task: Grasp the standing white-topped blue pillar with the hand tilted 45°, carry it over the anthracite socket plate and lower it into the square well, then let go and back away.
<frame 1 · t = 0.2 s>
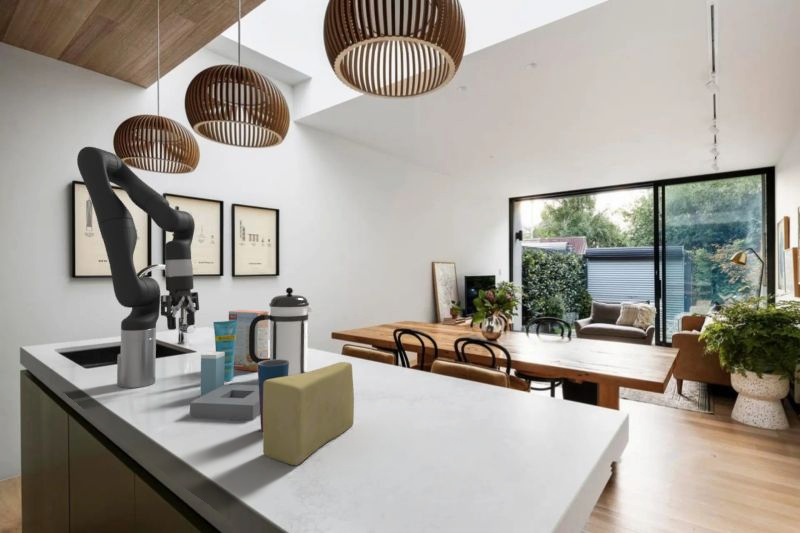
hand: (181, 327, 128), 18 cm above the worktop, tool pointing down, fingers open, 8 cm apart
cup: (272, 430, 93), on the worktop
cracker box: (247, 369, 150), on the worktop
tube: (225, 380, 134), on the worktop
cheese: (318, 442, 87), on the worktop
white-topped blue pillar: (212, 395, 118), on the worktop
socket: (237, 407, 108), on the worktop
coffee press: (284, 378, 138), on the worktop
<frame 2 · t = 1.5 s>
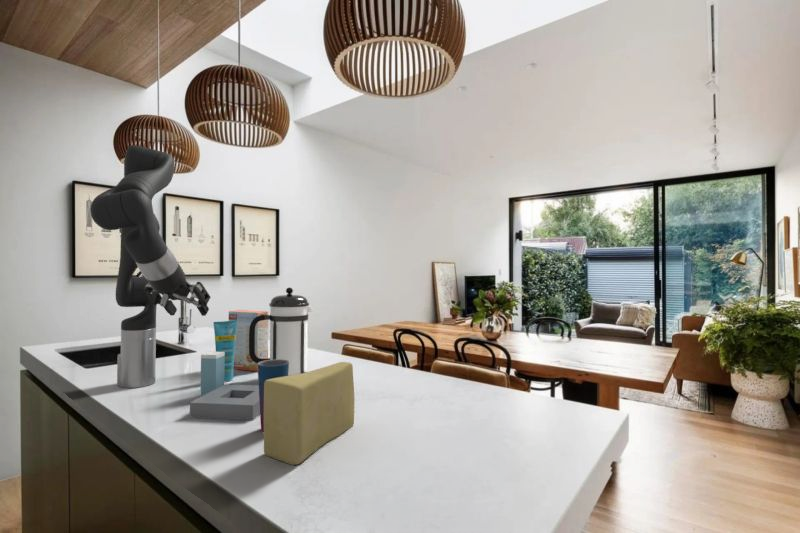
hand: (189, 313, 107), 25 cm above the worktop, tool tilted 45°, fingers open, 8 cm apart
nothing on the worktop moved.
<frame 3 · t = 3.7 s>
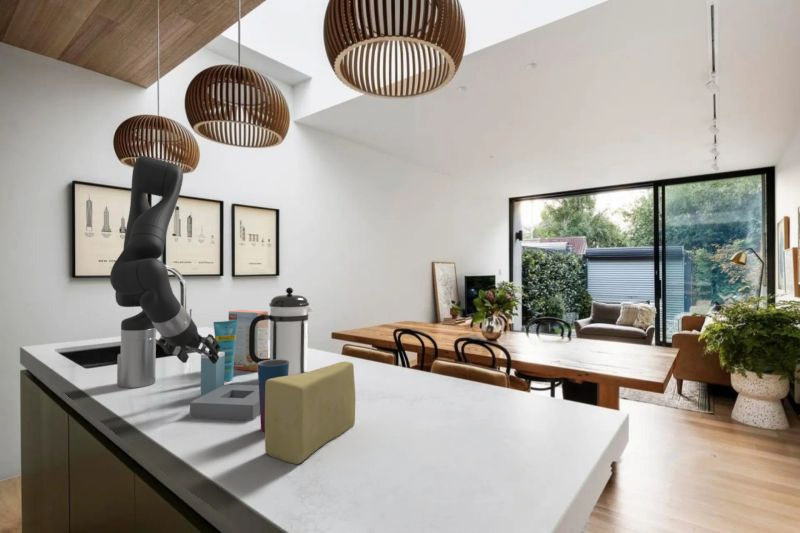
hand: (200, 360, 112), 11 cm above the worktop, tool tilted 45°, fingers open, 8 cm apart
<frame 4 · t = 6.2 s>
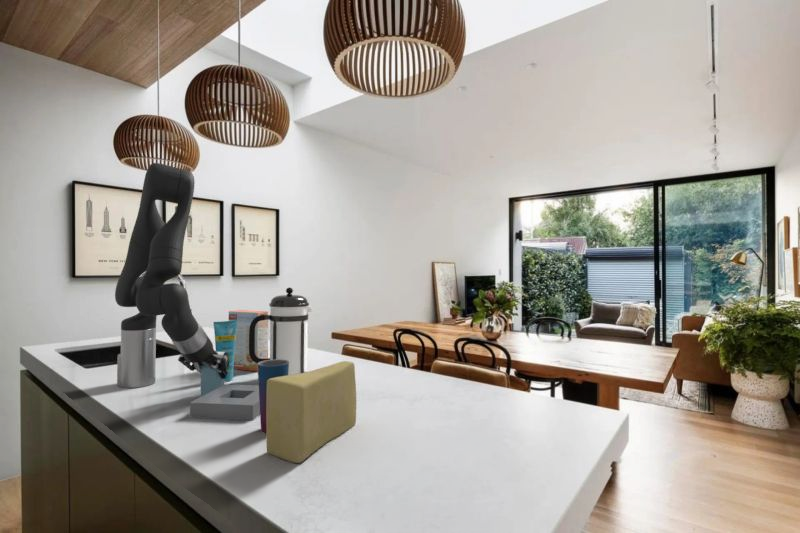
hand: (216, 375, 120), 5 cm above the worktop, tool tilted 45°, fingers closed on white-topped blue pillar, 4 cm apart
white-topped blue pillar: (212, 395, 118), on the worktop, touching gripper
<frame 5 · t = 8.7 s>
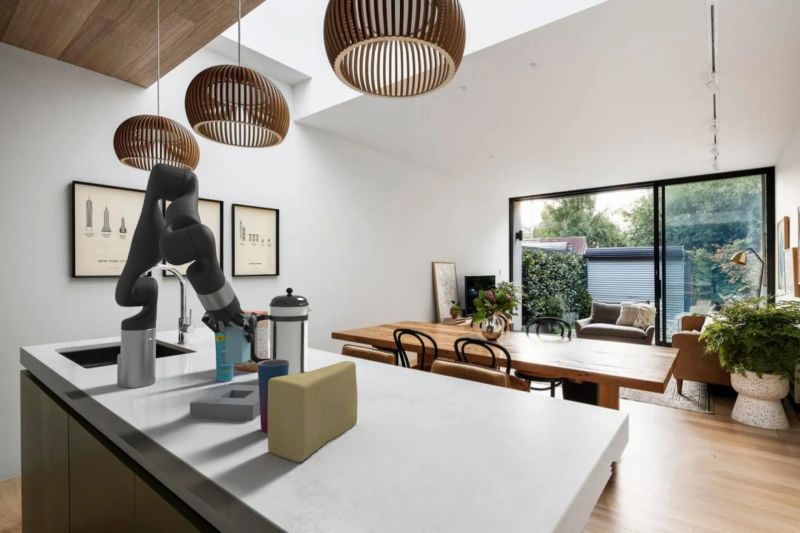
hand: (241, 339, 110), 17 cm above the worktop, tool tilted 45°, fingers closed on white-topped blue pillar, 4 cm apart
white-topped blue pillar: (238, 360, 108), point 12 cm above the worktop, touching gripper
when the fingers open (8 cm above the worktop, at t = 11.3 s): white-topped blue pillar drops 2 cm, resting in socket.
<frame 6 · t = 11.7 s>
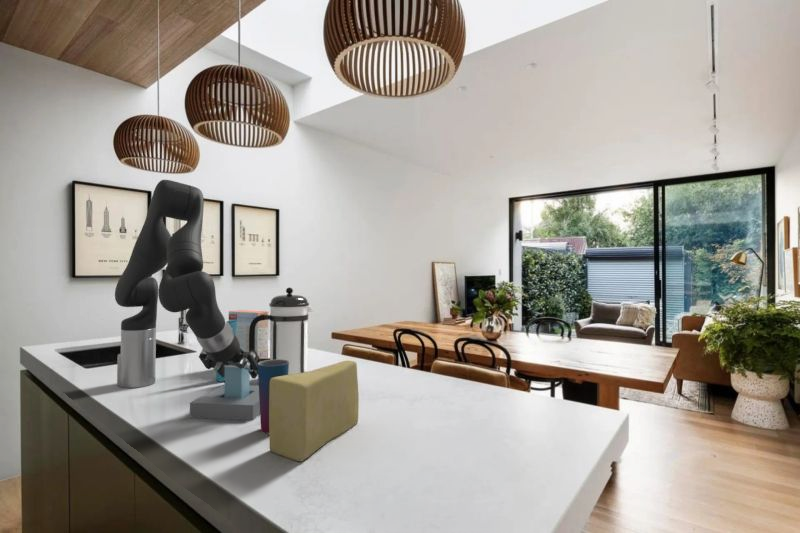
hand: (240, 374, 109), 8 cm above the worktop, tool tilted 45°, fingers open, 8 cm apart
white-topped blue pillar: (236, 407, 108), resting in socket
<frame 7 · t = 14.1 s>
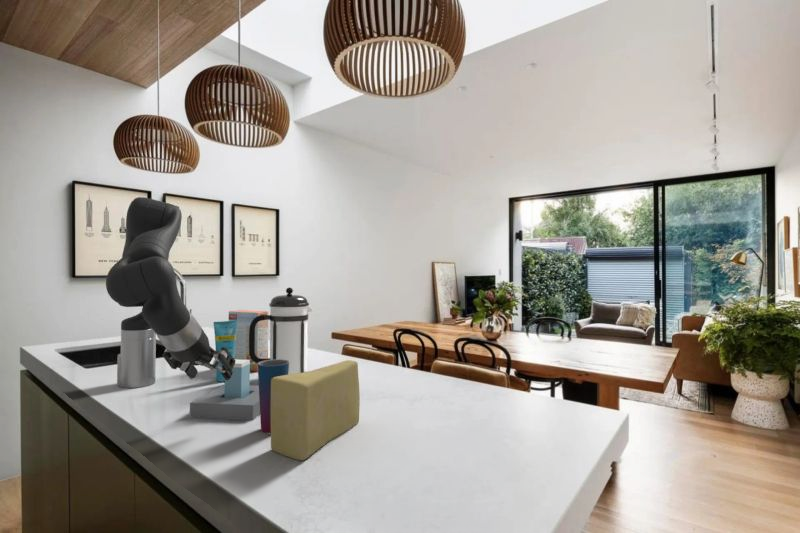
hand: (211, 376, 97), 11 cm above the worktop, tool tilted 45°, fingers open, 8 cm apart
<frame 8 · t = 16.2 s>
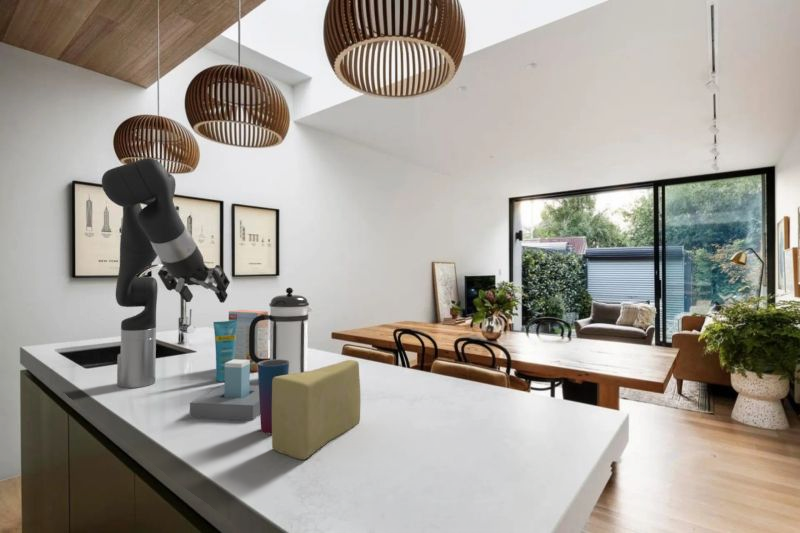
hand: (206, 299, 99), 29 cm above the worktop, tool tilted 45°, fingers open, 8 cm apart
at the end: white-topped blue pillar 0.1 cm off-centre on the socket, point 0.0 cm above the socket's base; white-topped blue pillar tilted 0°; the gripper is holding nothing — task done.
